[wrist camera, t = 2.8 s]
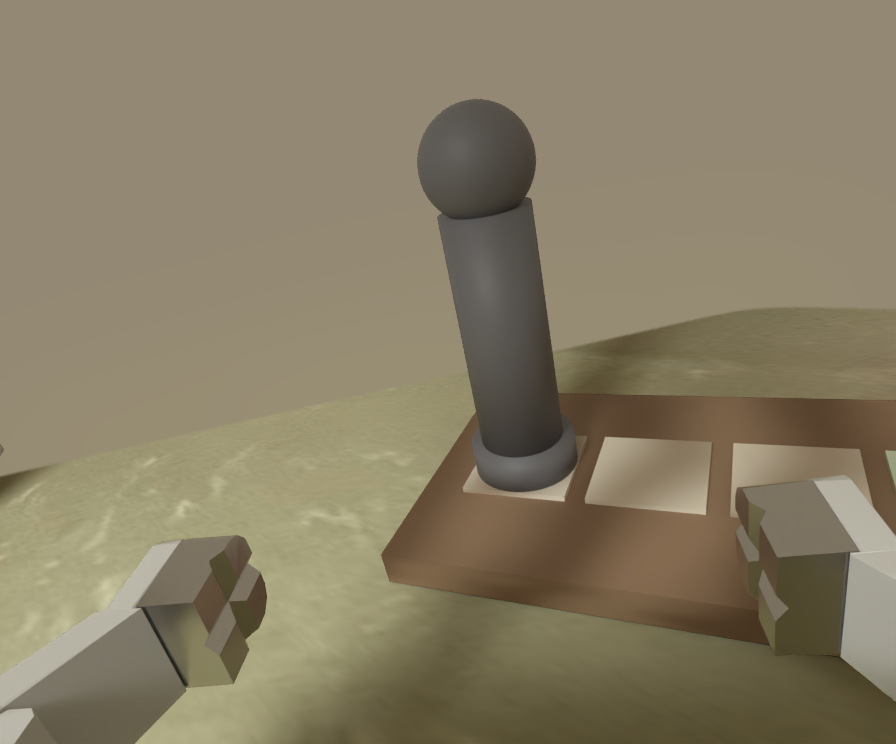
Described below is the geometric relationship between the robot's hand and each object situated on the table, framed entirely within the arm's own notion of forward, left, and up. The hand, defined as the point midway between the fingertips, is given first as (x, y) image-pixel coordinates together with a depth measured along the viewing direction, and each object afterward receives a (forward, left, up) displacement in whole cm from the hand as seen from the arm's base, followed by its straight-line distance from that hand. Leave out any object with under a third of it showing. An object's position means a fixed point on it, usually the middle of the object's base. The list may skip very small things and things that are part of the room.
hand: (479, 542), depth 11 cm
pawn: (-4, +12, -7) cm, 14 cm away
